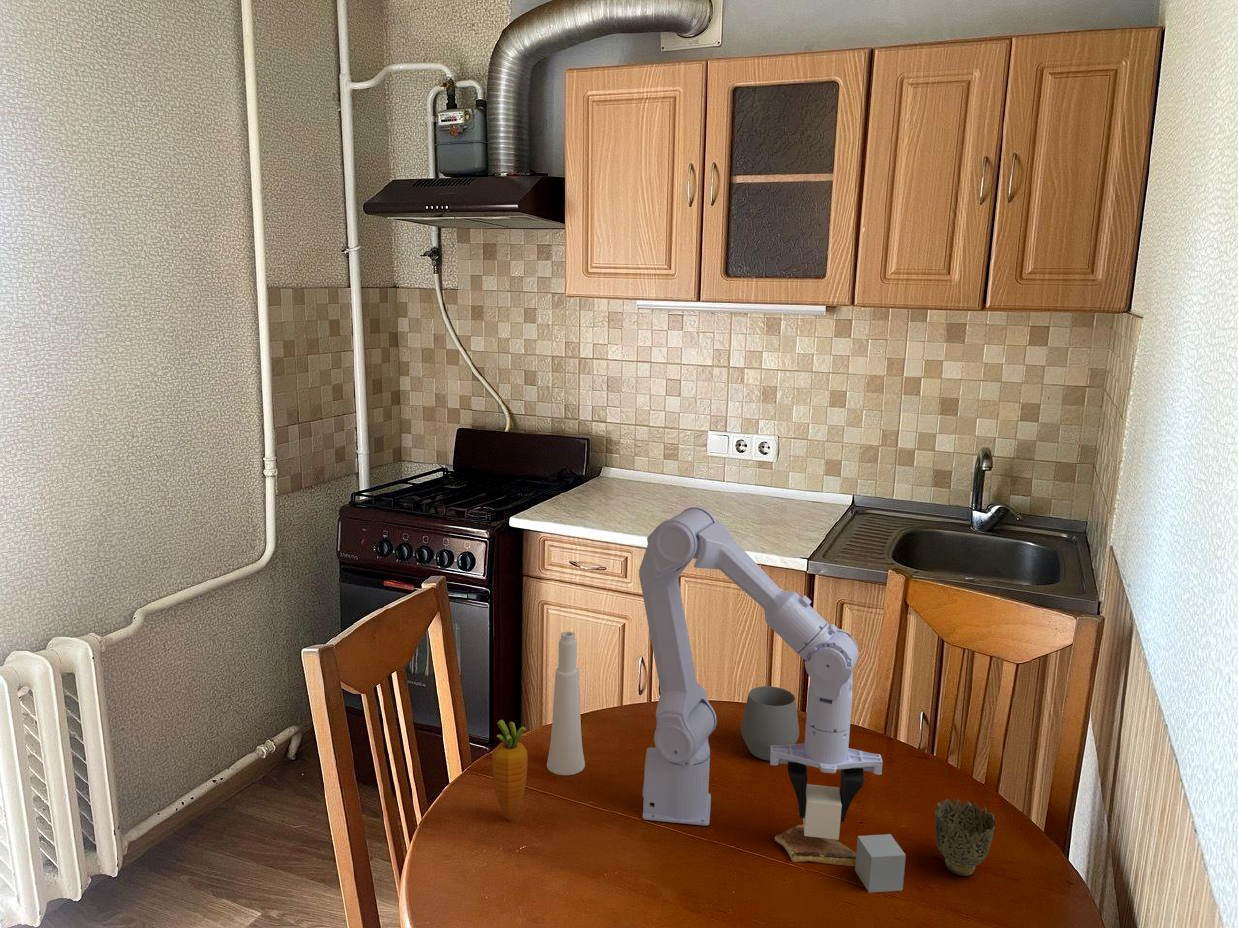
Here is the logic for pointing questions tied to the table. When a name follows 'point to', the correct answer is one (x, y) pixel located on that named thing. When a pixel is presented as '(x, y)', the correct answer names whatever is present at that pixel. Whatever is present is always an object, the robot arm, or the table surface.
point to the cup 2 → (963, 835)
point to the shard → (815, 848)
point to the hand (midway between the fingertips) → (821, 815)
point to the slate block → (880, 863)
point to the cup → (769, 720)
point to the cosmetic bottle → (566, 713)
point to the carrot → (509, 769)
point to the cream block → (822, 812)
